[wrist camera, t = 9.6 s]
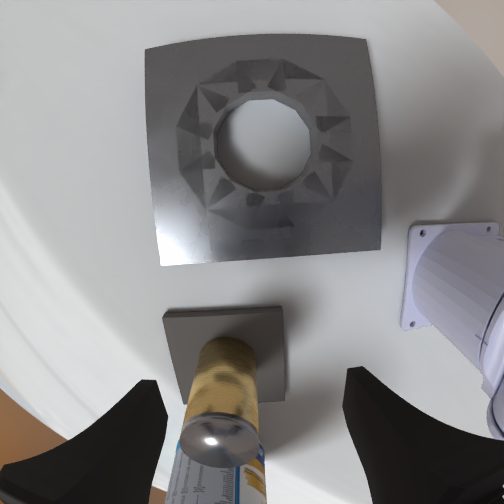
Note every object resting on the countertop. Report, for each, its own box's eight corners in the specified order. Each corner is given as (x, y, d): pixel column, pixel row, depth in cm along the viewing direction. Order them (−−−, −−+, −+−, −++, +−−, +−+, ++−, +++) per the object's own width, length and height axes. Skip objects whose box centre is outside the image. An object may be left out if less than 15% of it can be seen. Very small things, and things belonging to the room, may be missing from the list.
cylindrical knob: (256, 336, 20) (260, 424, 12) (255, 381, 21) (258, 468, 13) (196, 336, 20) (173, 420, 12) (201, 380, 21) (185, 465, 13)
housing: (355, 49, 16) (365, 39, 14) (368, 241, 19) (380, 249, 17) (154, 59, 16) (144, 49, 14) (169, 256, 19) (161, 265, 17)
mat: (281, 306, 20) (282, 311, 19) (283, 394, 22) (285, 400, 21) (165, 312, 20) (162, 317, 19) (185, 397, 22) (183, 404, 22)
